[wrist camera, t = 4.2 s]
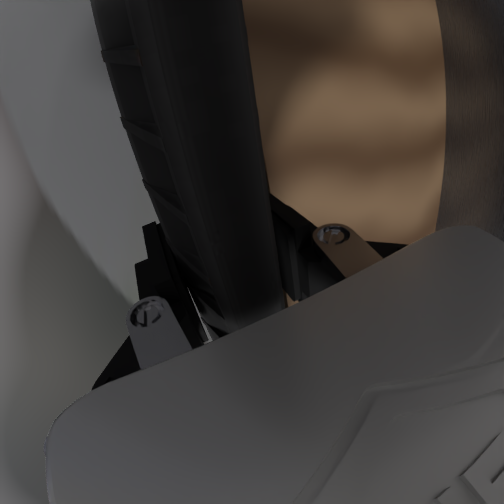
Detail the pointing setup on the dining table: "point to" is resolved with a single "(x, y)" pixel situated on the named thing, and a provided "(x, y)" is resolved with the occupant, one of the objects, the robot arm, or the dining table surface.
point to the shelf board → (352, 111)
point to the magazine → (198, 147)
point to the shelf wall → (473, 115)
